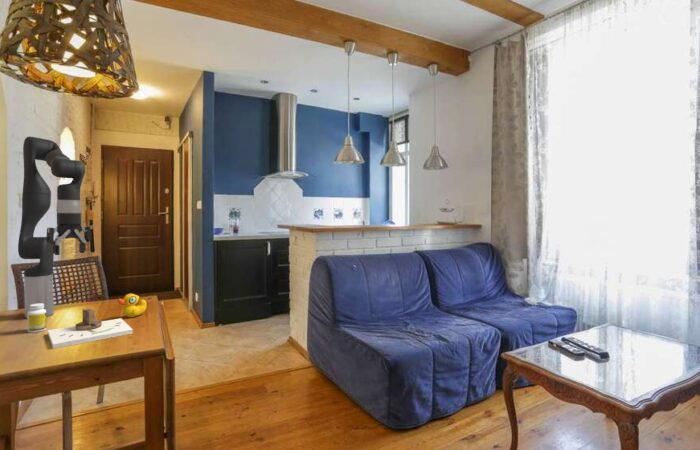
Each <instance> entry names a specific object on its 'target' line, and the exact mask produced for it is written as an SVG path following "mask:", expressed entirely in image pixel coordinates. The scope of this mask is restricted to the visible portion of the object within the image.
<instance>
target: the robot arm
mask: <svg viewBox="0 0 700 450" xmlns="http://www.w3.org/2000/svg"><path fill="white" fill-rule="evenodd" d="M22 151H23V152H22V153H23V155H22V157H23V181H22V182H23V183H22V184H23V185H22V198H21V221H20V223H21V224H20V228H19V229H20V230H19V236H18V243H17V253H18V256H19V258H21V259H22V260H39V262H38V264H36V265H34V266H31V267H28V268H27V267H26V269H24V270H23V281H24V282H23V283H24V285H23V286H24V287H23V289H24V290H23V291H24V318H26V319H28V312H29V311H31V309H30V305H32V304H37V303H43V304H44V308H43V309H45V310H46V318H47V317H49V316H52V315H54V281H53V280H54V279H53V278H54V276H53V274H54V273H53V271H54V256H60V253H61V252H60V251H61V250H60V244H61V243H62V242H63V241H64V240H65V239H66V240H67V239H76V240H77V241H78V242H79V243H78V246H79V247H78V248H79V250H78V251H79V254H84V253H85V252H86V248H87V246H86V245H87V244H86V243H88V242H91V241H92V232H91V226H88V225H87V226H82V205H81V187H82V183H83V180H84V177H85V176H86V175H85V174H86V165H85V164H84V162H83V161H80V160H76V159H75V160H74V159H71V158H69V156H68V155H66V154H65V153H63V151H62V150H61V148H60V146H59V145H58V144H57V142H55V141H53V140H50V139H46V138H41V137H36V136H35V137H34V136H27V137H25V139H24V141H23V147H22ZM36 160H37V161H42V162H46V165H48V167H50V171H51V174H52V175H53V176H55V177H56V178H62V179H72V180H71V182H69V183H62V184H59V185H57V187H56V192H57V193H56V197H57V200H56V210H55V211H56V224H57V225H56V227H47V228H46V236H34V233H35V229H36V227H37V226H38V223H39V222H40V221H41V220H42V218H43V217H45V215H46V214H47V213H48V211H49V209H50V208H51V205H52V204H51V202H52V199H51V198H52V190H51V189H50V187H49V185H48V183H47V182H46V180H45V179H44V178H43V176H42V175H41V174H40V172H39V169H38V167H37V164H36ZM56 232H57V235H56V236H55V234H56ZM81 232H83V235H82V234H81Z"/></svg>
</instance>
